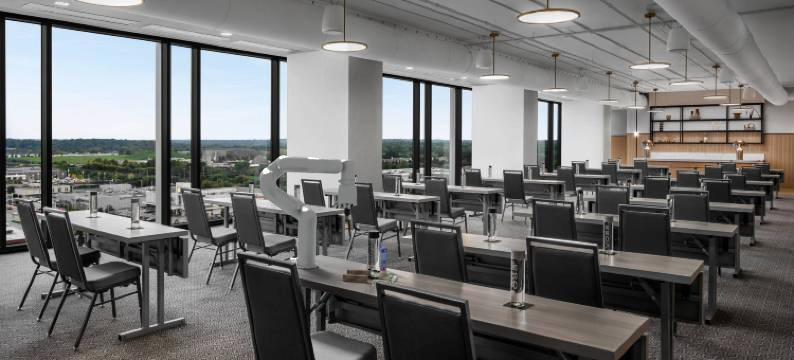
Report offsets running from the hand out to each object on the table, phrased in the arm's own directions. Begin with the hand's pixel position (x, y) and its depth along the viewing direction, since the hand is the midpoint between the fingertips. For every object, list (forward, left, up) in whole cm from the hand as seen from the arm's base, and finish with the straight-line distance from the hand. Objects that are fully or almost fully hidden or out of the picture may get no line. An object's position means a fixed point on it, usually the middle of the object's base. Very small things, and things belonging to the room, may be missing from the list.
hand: (347, 215), depth 315 cm
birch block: (+25, -28, -27) cm, 46 cm away
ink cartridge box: (+18, -8, -27) cm, 34 cm away
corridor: (+11, -28, -27) cm, 40 cm away
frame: (+25, -28, -27) cm, 46 cm away
